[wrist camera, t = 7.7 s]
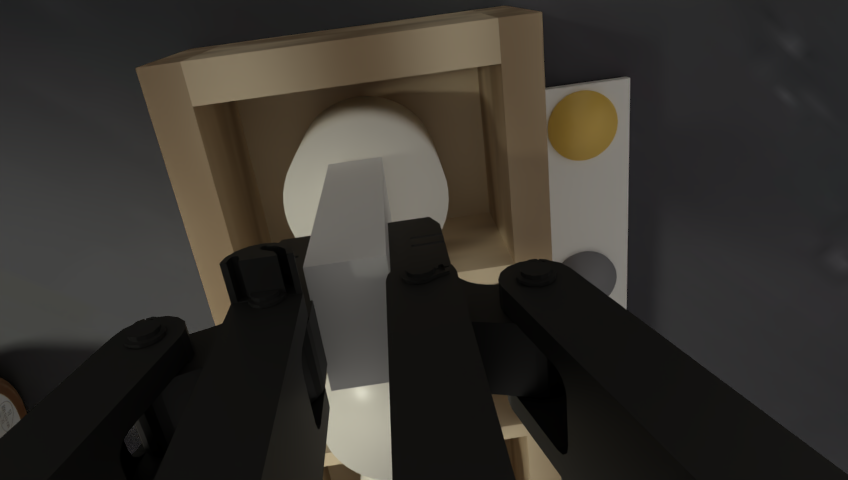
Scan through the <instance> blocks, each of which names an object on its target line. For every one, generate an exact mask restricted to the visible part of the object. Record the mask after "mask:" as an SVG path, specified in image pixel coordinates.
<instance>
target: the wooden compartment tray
mask: <svg viewBox="0 0 848 480" xmlns="http://www.w3.org/2000/svg"><path fill="white" fill-rule="evenodd" d="M135 69H136V72H137V75H138V79H139V82H140V85H141V88H142V91H143V95H144V98H145V101H146V104H147V107H148V111H149V114H150V117H151V120H152V123H153V127H154V130H155V133H156V136H157V139H158V143H159V146H160V149H161V152H162V155H163V159H164V162H165V165H166V168H167V171H168V175H169V178H170V181H171V184H172V187H173V191H174V194H175V197H176V200H177V204H178V207H179V210H180V213H181V216H182V220H183V223H184V226H185V229H186V232H187V236H188V239H189V242H190V245H191V248H192V252H193V255H194V258H195V261H196V264H197V268H198V271H199V274H200V277H201V280H202V284H203V287H204V290H205V293H206V296H207V300H208V303H209V306H210V309H211V312H212V316H213V319H214V322H215V325H216V326H217V325H219V324H222V323H223V321H224V319H225V317H226V314H227V312H228V310H229V307H230V305H231V302H230V299H229V295H228V292H227V288H226V285H225V282H224V278H223V275H222V271H221V268H220V265H219V263H220V262H221V261H222V260H223V259H224V258H225V257H227V256H228V255H230V254H232V253H233V252H235V251H238V250H240V249H243V248H246V247H248V246H253V245H257V244H262V243H275V242H276V243H279V242H280V241H281V240H284V239H291V238H295V236H294V234H293V233H292V231H291V229H290V226H289V224H288V221H287V218H286V215H285V210H284V204H283V191H284V183H285V179H286V175H287V172H288V170H289V167H290V165H291V163H292V161H293V159H294V156H295V154H296V152H297V150H298V148H299V146H300V144H301V142H302V139H303V137H304V135H305V133H306V131H307V130H308V128H309V126H310V125H311V123H312V122H313V121H314V120H315V118H316V117H317V116H318V115H319V114H321V113H322V112H323V111H324V110H325V109H327V108H328V107H330V106H331V105H333V104H335V103H337V102H339V101H342V100H345V99H348V98H353V97H358V96H376V97H381V98H386V99H389V100H392V101H394V102H396V103H398V104H400V105H402V106H404V107H405V108H407V109H408V110H410V111H411V112H412V113H413V114H415V115H416V116H417V117H418V118H419V119H420V121H421V122H422V123H423V124H424V126H425V127H426V129H427V130H428V132H429V134H430V136H431V138H432V141H433V144H434V146H435V149H436V152H437V155H438V158H439V160H440V163H441V166H442V169H443V172H444V175H445V178H446V181H447V186H448V196H449V203H448V212H447V216H446V220H445V223H444V225H443V228H442V234H443V237H444V241H445V244H446V248H447V251H448V255H449V259H450V262H451V264H452V265H453V266H454V267H455V269H456V270H457V273H458V277H459V278H460V279H463V280H465V281H467V282H472V283H476V284H486V285H499V284H498V278H499V275H500V272H502V271H503V270H504V269H505V268H507V267H508V266H510V265H513V264H515V263H518V262H522V261H528V260H529V259H537V260H539V259H547V260H550V261H552V241H551V217H550V192H549V168H548V144H547V120H546V95H545V71H544V47H543V23H542V12H540V11H534V10H528V9H523V8H517V7H511V6H498V7H491V8H484V9H476V10H469V11H462V12H455V13H447V14H440V15H433V16H426V17H418V18H411V19H404V20H397V21H389V22H382V23H375V24H367V25H360V26H353V27H346V28H338V29H331V30H324V31H317V32H309V33H302V34H295V35H288V36H280V37H273V38H266V39H258V40H251V41H244V42H237V43H229V44H222V45H215V46H208V47H200V48H193V49H188V50H185V51H182V52H179V53H177V54H174V55H171V56H168V57H165V58H162V59H159V60H157V61H154V62H151V63H148V64H145V65H142V66H139V67H137V68H135ZM326 376H327V372H326ZM325 384H326V380H325ZM492 397H493V401H494V405H495V408H496V412H497V415H498V419H499V422H500V426H501V429H502V433H503V437H504V440H505V444H506V447H507V451H508V454H509V458H510V461H511V465H512V468H513V472H514V476H515V479H516V480H561V476H560V475H559V473H558V472H557V470H556V469H555V468H554V466H553V465H552V464H551V462H550V461H549V459H548V458H547V457H546V455H545V454H544V453H543V451H542V450H541V448H540V447H539V446H538V444H537V443H536V442H535V440H534V439H533V437H532V436H531V435H530V433H529V432H528V431H527V429H526V428H525V426H524V425H523V424H522V422H521V421H520V419H519V418H518V417H517V415H516V414H515V413H514V411H513V410H512V408H511V406H510V403H509V401H508V395H496V394H492ZM360 478H361V474H359V473H357V472H355V471H353V470H351V469H350V468H348V467H346V466H345V465H344V464H343V463H341V462H340V461H339V460H338V459H337V458H336V457H335V456H334V455H333V453H332V452H331V451H330V449H329V448H328V446H327V444H326V451H325V461H324V471H323V480H360Z"/></svg>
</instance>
